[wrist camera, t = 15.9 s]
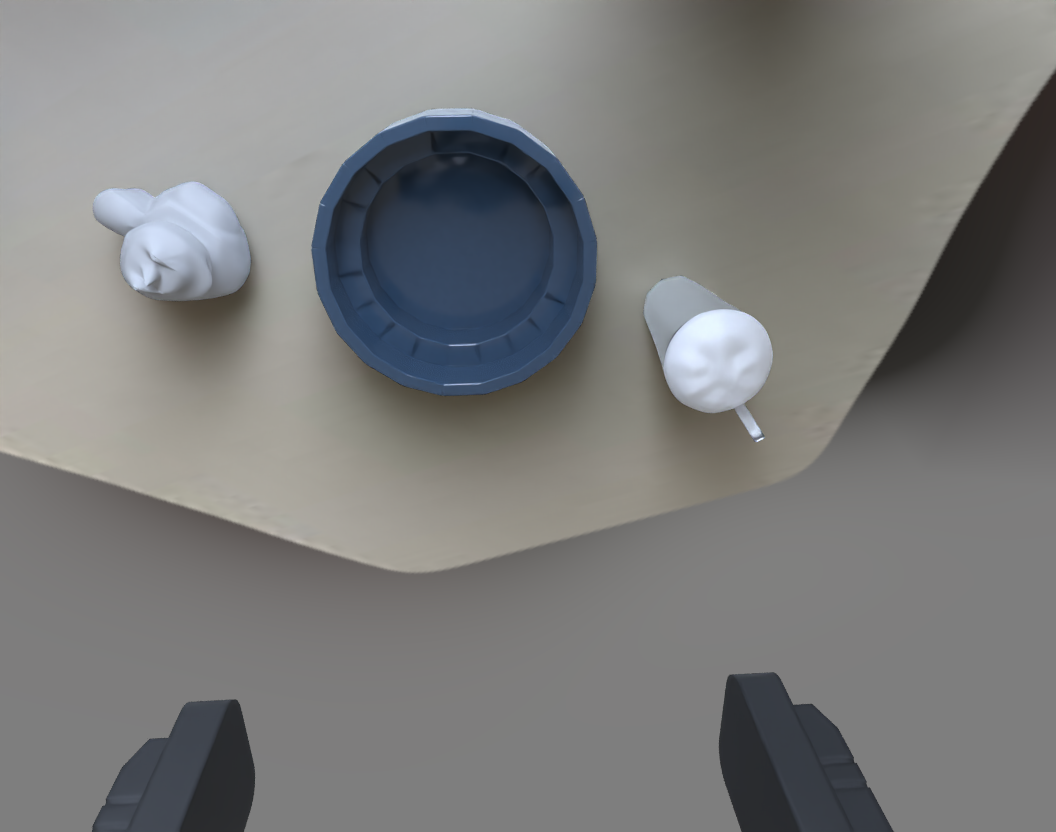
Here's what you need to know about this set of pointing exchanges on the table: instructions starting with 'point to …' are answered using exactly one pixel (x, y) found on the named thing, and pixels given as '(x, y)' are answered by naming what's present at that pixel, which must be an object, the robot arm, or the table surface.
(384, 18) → the table surface
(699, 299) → the milkshake
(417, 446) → the table surface
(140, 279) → the rubber duck
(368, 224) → the bowl
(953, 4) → the table surface
